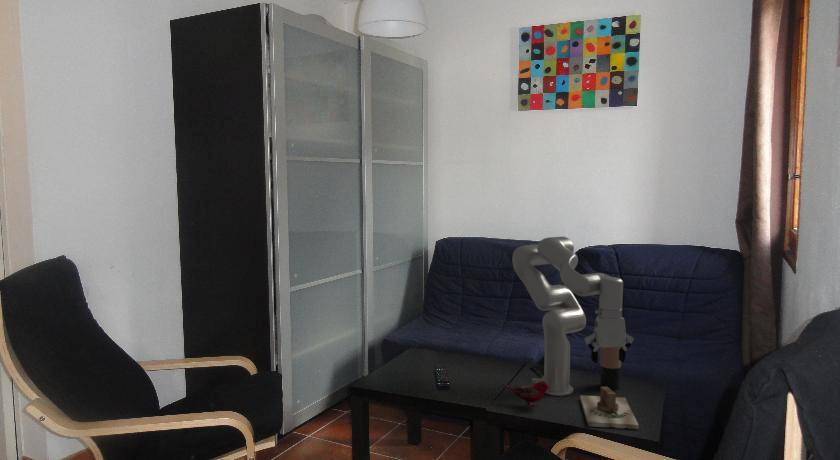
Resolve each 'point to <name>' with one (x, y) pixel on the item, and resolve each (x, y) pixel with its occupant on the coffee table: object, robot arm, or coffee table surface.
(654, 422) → the coffee table surface
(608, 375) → the travel mug
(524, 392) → the decorative bird figurine
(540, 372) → the phone
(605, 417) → the dial board
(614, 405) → the knob
